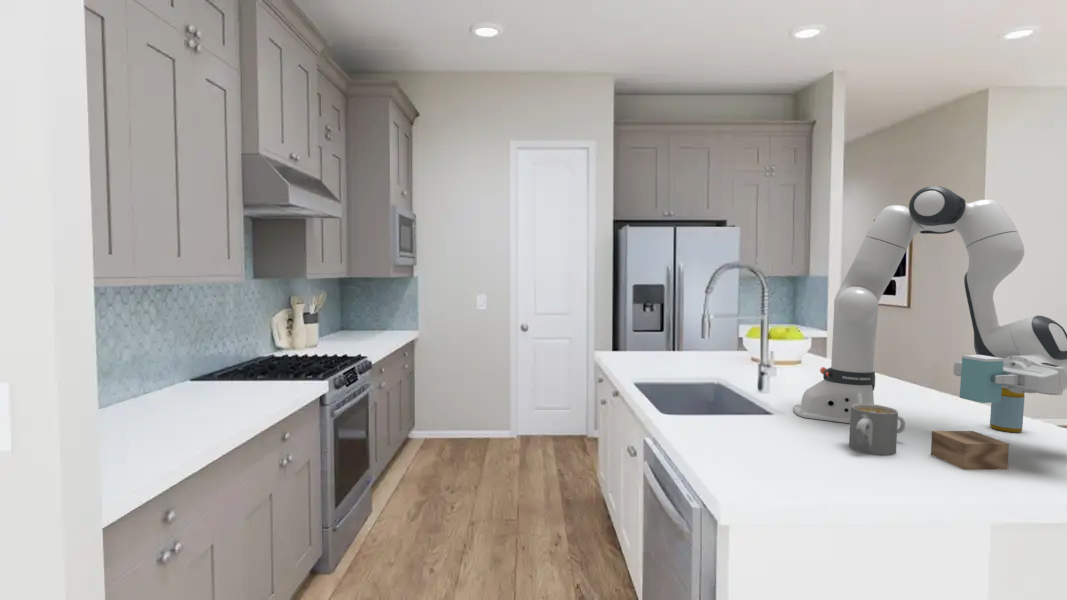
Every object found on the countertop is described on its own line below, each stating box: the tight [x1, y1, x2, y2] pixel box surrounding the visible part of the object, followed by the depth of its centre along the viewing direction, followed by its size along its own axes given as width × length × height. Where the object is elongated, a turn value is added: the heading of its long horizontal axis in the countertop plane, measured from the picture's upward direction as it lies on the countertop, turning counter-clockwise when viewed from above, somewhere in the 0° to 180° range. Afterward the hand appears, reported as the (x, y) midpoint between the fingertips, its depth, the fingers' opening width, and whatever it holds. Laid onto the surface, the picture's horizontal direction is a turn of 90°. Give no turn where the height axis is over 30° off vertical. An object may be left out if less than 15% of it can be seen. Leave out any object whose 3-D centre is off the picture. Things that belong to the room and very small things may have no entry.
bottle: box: [989, 385, 1026, 433], centre depth 160 cm, size 7×7×15 cm
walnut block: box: [930, 430, 1010, 470], centre depth 133 cm, size 10×10×6 cm
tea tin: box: [959, 354, 1004, 404], centre depth 133 cm, size 6×6×10 cm
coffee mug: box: [848, 404, 899, 456], centre depth 140 cm, size 13×10×10 cm
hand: (978, 376), depth 132 cm, fingers closed on tea tin, 5 cm apart
